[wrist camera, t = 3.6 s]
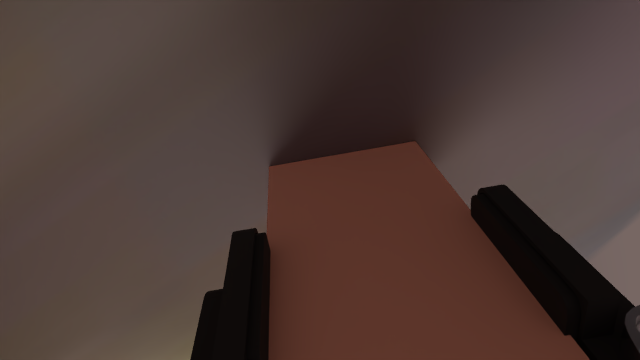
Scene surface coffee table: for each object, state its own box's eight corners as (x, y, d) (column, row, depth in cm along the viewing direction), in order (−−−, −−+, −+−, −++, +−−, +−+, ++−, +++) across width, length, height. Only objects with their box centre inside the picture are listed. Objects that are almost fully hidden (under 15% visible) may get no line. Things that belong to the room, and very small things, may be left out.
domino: (417, 182, 15) (614, 482, 6) (277, 207, 15) (281, 545, 6) (415, 140, 15) (632, 413, 6) (269, 166, 15) (257, 483, 6)
